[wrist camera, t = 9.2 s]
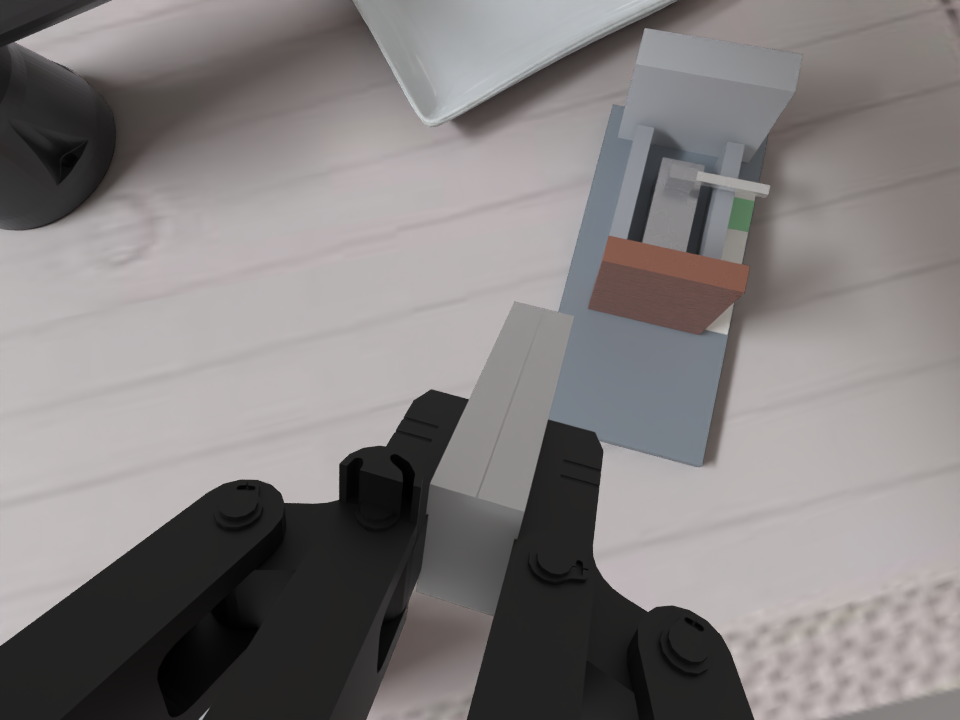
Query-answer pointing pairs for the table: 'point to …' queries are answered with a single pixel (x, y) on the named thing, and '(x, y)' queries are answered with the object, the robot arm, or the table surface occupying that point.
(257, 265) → the table surface
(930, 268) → the table surface
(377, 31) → the square plate
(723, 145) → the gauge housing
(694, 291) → the plunger
